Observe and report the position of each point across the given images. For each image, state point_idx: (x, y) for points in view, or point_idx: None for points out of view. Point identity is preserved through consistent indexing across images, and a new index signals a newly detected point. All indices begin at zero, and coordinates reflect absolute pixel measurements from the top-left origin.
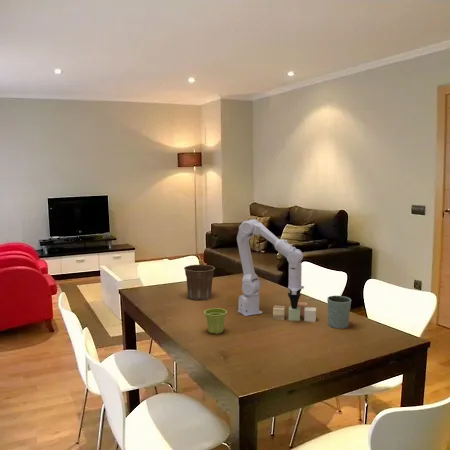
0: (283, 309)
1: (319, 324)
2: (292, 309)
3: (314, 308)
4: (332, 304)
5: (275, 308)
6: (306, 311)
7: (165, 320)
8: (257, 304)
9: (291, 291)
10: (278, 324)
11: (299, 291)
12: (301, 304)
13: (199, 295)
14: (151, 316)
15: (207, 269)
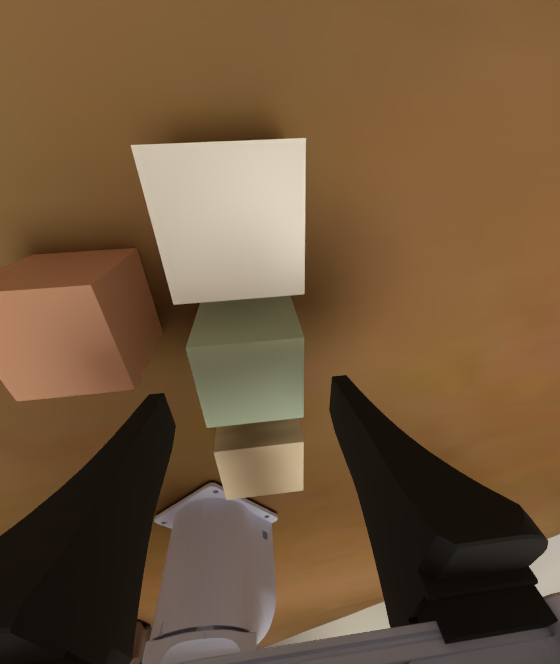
0: (302, 444)
1: (363, 94)
2: (293, 394)
3: (179, 168)
4: None
5: (293, 482)
6: (303, 268)
7: (356, 603)
8: (224, 550)
9: (130, 604)
10: (377, 393)
11: (74, 560)
12: (81, 349)
13: (141, 647)
14: (330, 621)
15: None
